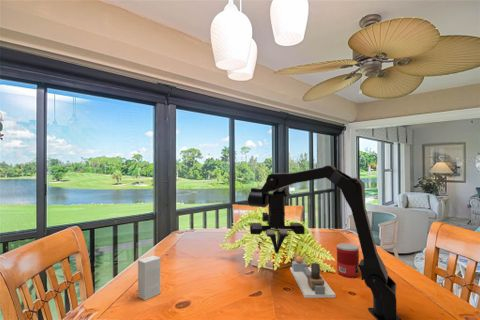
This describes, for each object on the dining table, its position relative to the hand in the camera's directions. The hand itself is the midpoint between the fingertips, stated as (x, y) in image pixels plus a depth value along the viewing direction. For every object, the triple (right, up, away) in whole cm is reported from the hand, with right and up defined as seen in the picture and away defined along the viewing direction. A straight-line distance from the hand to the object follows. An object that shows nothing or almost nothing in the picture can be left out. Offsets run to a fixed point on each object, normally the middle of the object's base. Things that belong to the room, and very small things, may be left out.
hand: (276, 252), depth 93 cm
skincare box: (-43, -12, -6) cm, 45 cm away
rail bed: (+13, -12, +4) cm, 18 cm away
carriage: (+13, -11, -3) cm, 17 cm away
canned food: (+30, -13, +11) cm, 34 cm away
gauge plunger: (+11, -8, +12) cm, 18 cm away
